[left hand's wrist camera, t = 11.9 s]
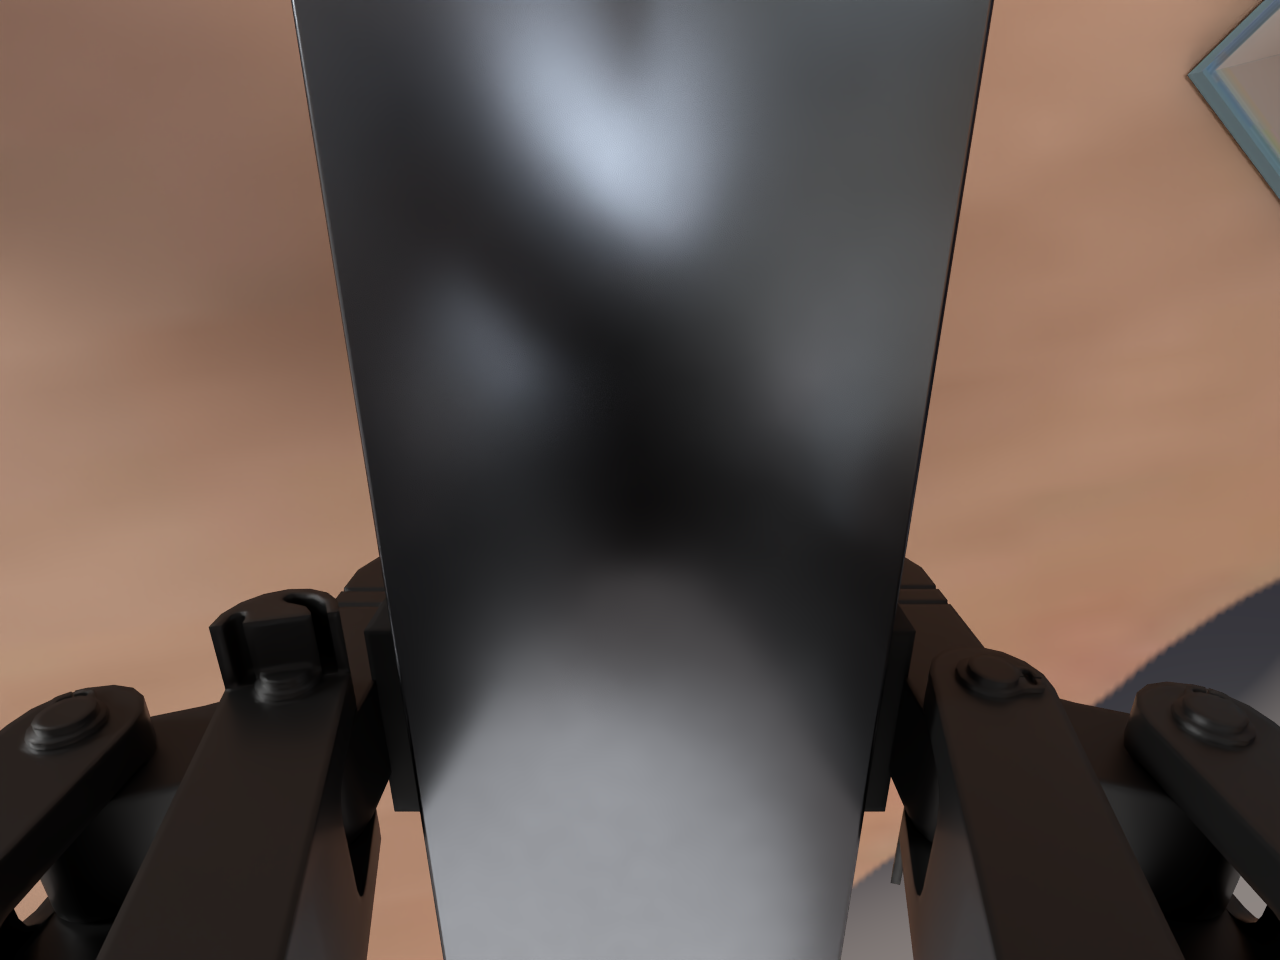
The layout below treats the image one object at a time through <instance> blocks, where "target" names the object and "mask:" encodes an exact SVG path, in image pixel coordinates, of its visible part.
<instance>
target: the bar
mask: <svg viewBox="0 0 1280 960" xmlns="http://www.w3.org/2000/svg"><path fill="white" fill-rule="evenodd" d="M291 3H292V9H293V15H294V21H295V28H296V34H297V40H298V47H299V53H300V59H301V66H302V72H303V78H304V84H305V91H306V97H307V103H308V110H309V116H310V122H311V128H312V135H313V141H314V147H315V154H316V160H317V166H318V173H319V179H320V185H321V191H322V198H323V204H324V210H325V217H326V223H327V229H328V235H329V242H330V248H331V254H332V261H333V267H334V273H335V280H336V286H337V292H338V298H339V305H340V311H341V317H342V324H343V330H344V336H345V342H346V349H347V355H348V361H349V368H350V374H351V380H352V387H353V393H354V399H355V405H356V412H357V418H358V424H359V431H360V437H361V443H362V449H363V456H364V462H365V468H366V475H367V481H368V487H369V493H370V500H371V506H372V512H373V519H374V525H375V531H376V538H377V544H378V550H379V556H380V563H381V569H382V575H383V582H384V588H385V594H386V600H387V607H388V613H389V619H390V626H391V632H392V638H393V645H394V651H395V657H396V663H397V670H398V676H399V682H400V689H401V695H402V701H403V707H404V714H405V720H406V726H407V733H408V739H409V745H410V752H411V758H412V764H413V770H414V777H415V783H416V789H417V796H418V802H419V808H420V814H421V821H422V827H423V833H424V840H425V846H426V852H427V859H428V865H429V871H430V877H431V884H432V890H433V896H434V903H435V909H436V915H437V921H438V928H439V934H440V940H441V947H442V953H443V959H444V960H841V953H842V947H843V941H844V935H845V929H846V922H847V916H848V910H849V904H850V897H851V891H852V885H853V879H854V872H855V866H856V860H857V854H858V847H859V841H860V835H861V829H862V822H863V816H864V810H865V804H866V797H867V791H868V785H869V779H870V772H871V766H872V760H873V754H874V747H875V741H876V735H877V729H878V722H879V716H880V710H881V704H882V697H883V691H884V685H885V679H886V672H887V666H888V660H889V654H890V647H891V641H892V635H893V629H894V622H895V616H896V610H897V604H898V597H899V591H900V585H901V579H902V572H903V566H904V560H905V554H906V547H907V541H908V535H909V529H910V522H911V516H912V510H913V504H914V497H915V491H916V485H917V479H918V472H919V466H920V460H921V454H922V448H923V441H924V435H925V429H926V423H927V416H928V410H929V404H930V398H931V391H932V385H933V379H934V373H935V366H936V360H937V354H938V348H939V341H940V335H941V329H942V323H943V316H944V310H945V304H946V298H947V291H948V285H949V279H950V273H951V266H952V260H953V254H954V248H955V241H956V235H957V229H958V223H959V216H960V210H961V204H962V198H963V191H964V185H965V179H966V173H967V166H968V160H969V154H970V148H971V141H972V135H973V129H974V123H975V116H976V110H977V104H978V98H979V91H980V85H981V79H982V73H983V66H984V60H985V54H986V48H987V41H988V35H989V29H990V23H991V16H992V10H993V4H994V0H291Z"/></svg>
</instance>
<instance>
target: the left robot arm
mask: <svg viewBox="0 0 1280 960" xmlns="http://www.w3.org/2000/svg"><path fill="white" fill-rule="evenodd" d="M209 630H210V634H211V637H212V641H213V645H214V648H215V652H216V656H217V660H218V663H219V667H220V671H221V674H222V678H223V682H224V686H225V689H226V690H225V692H224V694H223V696H222V698H221V700H220V702H217V703H213V704H210V705H206V706H201V707H196V708H191V709H186V710H181V711H177V712H172V713H167V714H162V715H157V716H152V717H150V714H149V711H148V708H147V705H146V702H145V699H144V696H143V695H142V694H140V693H139V692H138V691H137V690H135V689H134V688H131V687H125V686H118V685H109V686H100V687H91V688H85V689H80V690H75V692H69V693H66V694H63V695H60V696H57V697H55V698H53V699H52V700H50V701H48V702H46V703H44V704H41V705H39V706H37V707H35V708H33V709H31V710H29V711H28V712H26V713H25V714H23V715H22V716H20V717H19V718H17V719H16V720H14V721H13V722H11V723H10V724H8V725H7V726H5V727H4V728H3V729H2V730H1V731H0V960H367V952H368V943H369V935H370V927H371V918H372V910H373V902H374V893H375V885H376V877H377V868H378V860H379V852H380V843H381V835H380V827H379V821H378V816H377V810H376V807H377V805H378V803H379V801H380V798H381V796H382V794H383V791H384V789H385V787H386V785H387V782H388V780H389V782H390V787H391V793H392V799H393V805H394V810H395V811H420V808H419V802H418V796H417V789H416V783H415V777H414V770H413V764H412V758H411V752H410V745H409V739H408V733H407V726H406V720H405V714H404V707H403V701H402V695H401V689H400V682H399V676H398V670H397V663H396V657H395V651H394V645H393V638H392V632H391V626H390V619H389V613H388V607H387V600H386V594H385V588H384V582H383V575H382V569H381V563H380V557H378V558H376V559H375V560H373V561H372V562H370V563H368V564H367V565H365V566H364V567H362V568H360V569H359V570H358V571H357V572H356V573H355V575H354V576H353V577H352V578H351V580H350V581H349V582H348V584H347V585H346V586H345V587H344V591H341V593H340V594H339V595H338V596H337V598H336V599H335V598H334V597H332V596H331V595H330V594H329V593H327V592H322V591H318V590H313V589H287V590H282V591H277V592H272V593H267V594H263V595H260V596H257V597H255V598H252V599H249V600H247V601H244V602H241V603H239V604H238V605H236V606H234V607H232V608H231V609H229V610H227V611H226V612H224V613H222V614H221V615H220V616H219V617H218V618H217V619H216V620H215V621H214V622H213V623H212V624H211V625H210V626H209ZM891 778H892V780H893V782H894V784H895V787H896V789H897V791H898V794H899V796H900V798H901V800H902V803H903V805H904V810H903V816H902V821H901V827H900V832H899V837H898V843H897V848H896V853H895V859H894V864H893V870H892V877H891V883H894V884H898V885H900V883H901V877H902V872H903V875H904V883H905V892H906V900H907V908H908V916H909V924H910V933H911V941H912V950H913V958H914V960H1280V727H1279V726H1278V725H1277V724H1276V723H1275V722H1273V721H1272V720H1270V719H1269V718H1267V717H1266V716H1264V715H1262V714H1261V713H1260V712H1258V711H1257V710H1255V709H1254V708H1252V707H1250V706H1249V705H1246V704H1244V703H1242V702H1240V701H1238V700H1235V699H1233V698H1231V697H1229V696H1228V695H1226V694H1224V693H1222V692H1219V691H1216V690H1213V689H1210V688H1209V689H1206V688H1205V687H1202V686H1197V685H1193V684H1183V683H1174V682H1161V683H1154V684H1147V685H1146V686H1145V687H1144V688H1142V689H1141V690H1140V691H1139V692H1137V694H1136V697H1135V700H1134V703H1133V706H1132V709H1131V712H1130V714H1129V713H1124V712H1119V711H1114V710H1109V709H1104V708H1099V707H1094V706H1089V705H1084V704H1079V703H1074V702H1070V701H1067V700H1063V699H1059V697H1058V695H1057V692H1056V690H1055V688H1054V687H1053V686H1052V685H1051V683H1050V682H1049V681H1048V680H1047V678H1046V677H1045V676H1044V675H1043V674H1042V673H1041V672H1039V671H1038V670H1036V669H1035V668H1033V667H1032V666H1031V665H1029V664H1028V663H1026V662H1025V661H1022V660H1020V659H1018V658H1015V657H1013V656H1011V655H1008V654H1006V653H1004V652H1000V651H996V650H992V649H987V648H984V646H983V645H982V644H981V643H980V641H979V640H978V639H977V638H976V636H975V635H974V634H973V632H972V631H971V630H970V629H969V627H968V626H967V625H966V623H965V622H964V621H963V620H962V618H961V617H960V616H959V615H958V613H957V612H956V611H955V609H954V608H953V607H952V606H951V604H948V603H947V599H946V598H945V597H944V595H943V594H942V593H941V592H940V590H939V589H936V585H935V584H934V583H933V581H932V580H931V579H930V578H929V576H928V575H927V574H926V572H925V571H924V570H923V569H922V567H920V566H918V565H917V564H915V563H913V562H912V561H910V560H909V559H907V558H905V560H904V566H903V572H902V579H901V585H900V591H899V597H898V604H897V610H896V616H895V622H894V629H893V635H892V641H891V647H890V654H889V660H888V666H887V672H886V679H885V685H884V691H883V697H882V704H881V710H880V716H879V722H878V729H877V735H876V741H875V747H874V754H873V760H872V766H871V772H870V779H869V785H868V791H867V797H866V804H865V810H864V811H885V808H886V802H887V796H888V790H889V784H890V779H891ZM1240 876H1242V877H1243V878H1244V880H1245V881H1246V882H1247V883H1248V884H1249V885H1250V886H1251V887H1252V889H1253V890H1254V891H1255V892H1256V893H1257V894H1258V895H1259V896H1260V897H1261V899H1262V900H1263V901H1264V902H1265V903H1266V904H1267V906H1266V908H1265V911H1264V913H1263V915H1262V916H1261V917H1260V918H1259V919H1258V918H1256V917H1254V916H1253V915H1252V914H1251V913H1250V912H1249V911H1248V910H1247V909H1246V908H1245V907H1244V906H1243V905H1242V904H1241V903H1240V901H1239V900H1238V899H1237V898H1236V897H1235V896H1234V895H1233V892H1234V889H1235V887H1236V885H1237V883H1238V880H1239V878H1240ZM39 880H41V882H42V884H43V887H44V889H45V891H46V893H47V896H48V897H47V898H46V899H45V900H44V902H43V903H42V904H41V905H40V906H39V907H38V909H37V910H36V911H35V912H34V913H32V914H31V915H30V916H29V917H28V918H26V919H25V920H24V921H23V922H22V921H21V920H19V919H18V916H17V914H16V912H15V910H14V908H15V907H16V906H17V905H18V903H19V902H20V901H21V900H22V899H23V898H24V897H25V896H26V894H27V893H28V892H29V891H30V890H31V889H32V888H33V887H34V885H35V884H36V883H37V882H38V881H39Z"/></svg>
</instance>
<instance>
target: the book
mask: <svg viewBox="0 0 1280 960" xmlns="http://www.w3.org/2000/svg"><path fill="white" fill-rule="evenodd" d="M1188 77H1189V78H1190V79H1191V81H1192V82H1193V83H1194V85H1195V86H1196V87H1197V89H1198V90H1199V91H1200V93H1201V94H1202V95H1203V97H1204V98H1205V99H1206V101H1207V102H1208V104H1209V105H1210V106H1211V108H1212V109H1213V110H1214V112H1215V113H1216V114H1217V116H1218V117H1219V118H1220V120H1221V121H1222V122H1223V124H1224V125H1225V126H1226V128H1227V129H1228V130H1229V132H1230V133H1231V134H1232V136H1233V137H1234V138H1235V140H1236V141H1237V143H1238V144H1239V145H1240V147H1241V148H1242V149H1243V151H1244V152H1245V153H1246V155H1247V156H1248V157H1249V159H1250V160H1251V161H1252V163H1253V164H1254V165H1255V167H1256V168H1257V169H1258V171H1259V172H1260V173H1261V175H1262V176H1263V177H1264V179H1265V180H1266V182H1267V183H1268V184H1269V186H1270V187H1271V188H1272V190H1273V191H1274V192H1275V194H1276V195H1277V196H1278V198H1279V199H1280V0H1264V1H1263V2H1262V3H1261V4H1260V5H1259V6H1258V7H1257V8H1256V9H1255V10H1254V11H1253V12H1252V13H1251V14H1250V15H1249V16H1248V17H1247V18H1246V19H1245V20H1244V21H1243V22H1242V23H1241V24H1239V25H1238V26H1237V27H1236V28H1235V29H1234V30H1233V31H1232V32H1231V33H1230V34H1229V35H1228V36H1227V37H1226V38H1225V39H1224V40H1223V41H1222V42H1221V43H1220V44H1219V45H1218V46H1217V47H1216V48H1215V49H1214V50H1213V51H1212V52H1211V53H1210V54H1209V55H1208V56H1207V57H1206V58H1205V59H1203V60H1202V61H1201V62H1200V63H1199V64H1198V65H1197V66H1196V67H1195V68H1194V69H1193V70H1192V71H1191V72H1190V73H1189V74H1188Z"/></svg>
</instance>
